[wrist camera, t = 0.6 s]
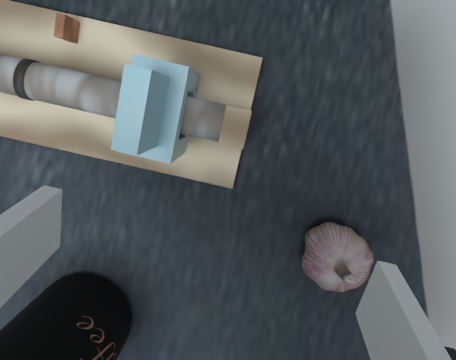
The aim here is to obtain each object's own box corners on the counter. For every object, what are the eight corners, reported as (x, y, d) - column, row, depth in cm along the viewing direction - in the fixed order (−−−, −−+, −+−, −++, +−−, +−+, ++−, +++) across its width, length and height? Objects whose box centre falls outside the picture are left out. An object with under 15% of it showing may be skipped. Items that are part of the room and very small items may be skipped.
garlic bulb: (295, 219, 39) (308, 247, 32) (365, 212, 39) (395, 239, 31) (300, 285, 41) (314, 327, 33) (368, 279, 40) (398, 320, 32)
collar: (185, 152, 34) (153, 175, 22) (142, 142, 34) (88, 161, 22) (200, 75, 32) (175, 56, 21) (156, 65, 32) (106, 40, 21)
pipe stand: (233, 185, 39) (229, 210, 29) (-8, 131, 39) (-88, 138, 30) (261, 59, 36) (267, 42, 27) (4, 1, 36) (-79, -36, 27)
